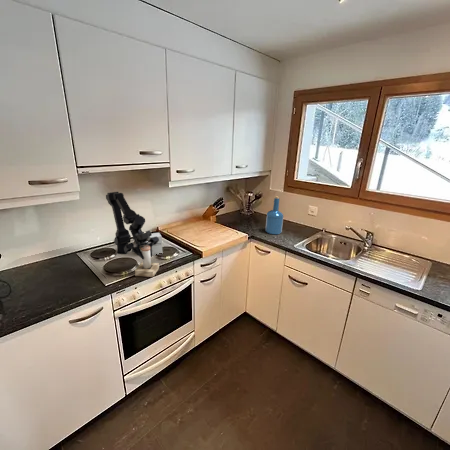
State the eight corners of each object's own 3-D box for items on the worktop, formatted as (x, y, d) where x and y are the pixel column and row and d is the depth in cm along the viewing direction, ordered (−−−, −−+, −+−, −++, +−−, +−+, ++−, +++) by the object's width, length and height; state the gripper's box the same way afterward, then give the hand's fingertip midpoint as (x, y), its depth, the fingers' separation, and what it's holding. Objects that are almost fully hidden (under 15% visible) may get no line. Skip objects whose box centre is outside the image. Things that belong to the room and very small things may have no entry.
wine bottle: (276, 228, 220) (280, 194, 210) (284, 234, 208) (289, 198, 198) (262, 230, 216) (265, 194, 206) (269, 235, 204) (273, 198, 194)
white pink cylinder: (141, 268, 142) (139, 248, 138) (144, 264, 146) (143, 245, 142) (149, 269, 141) (148, 249, 137) (152, 265, 146) (151, 245, 142)
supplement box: (151, 256, 164) (150, 237, 160) (148, 251, 170) (147, 233, 166) (162, 254, 167) (161, 236, 163) (160, 249, 173) (159, 232, 169)
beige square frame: (135, 276, 141) (134, 270, 139) (142, 267, 150) (142, 262, 149) (153, 277, 140) (152, 272, 139) (159, 268, 149) (158, 263, 148)
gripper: (123, 230, 133) (134, 257, 129) (156, 223, 145) (167, 247, 141) (119, 239, 141) (129, 265, 137) (150, 232, 153) (161, 255, 149)
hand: (147, 257), depth 141 cm, fingers closed on white pink cylinder, 4 cm apart
